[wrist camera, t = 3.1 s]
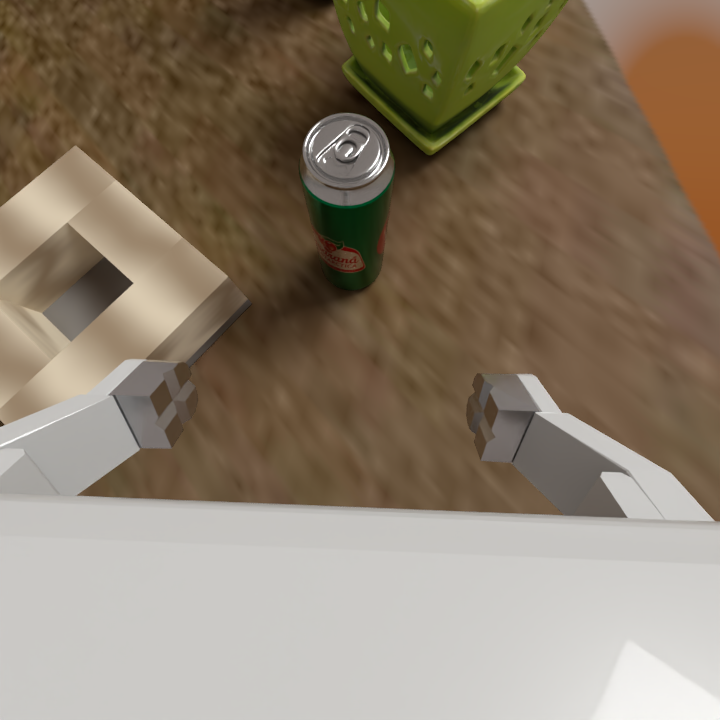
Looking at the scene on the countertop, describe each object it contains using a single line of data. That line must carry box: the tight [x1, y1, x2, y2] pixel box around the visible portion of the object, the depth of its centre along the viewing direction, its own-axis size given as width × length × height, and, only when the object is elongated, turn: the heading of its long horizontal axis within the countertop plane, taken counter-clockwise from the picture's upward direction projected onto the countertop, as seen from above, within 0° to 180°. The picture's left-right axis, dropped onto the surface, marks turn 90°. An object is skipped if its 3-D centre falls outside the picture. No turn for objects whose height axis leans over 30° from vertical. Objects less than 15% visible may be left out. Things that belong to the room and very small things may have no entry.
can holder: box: [0, 145, 252, 425], centre depth 25 cm, size 16×16×5 cm
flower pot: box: [333, 0, 568, 155], centre depth 25 cm, size 14×14×13 cm
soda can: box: [299, 113, 395, 290], centre depth 22 cm, size 5×5×12 cm
